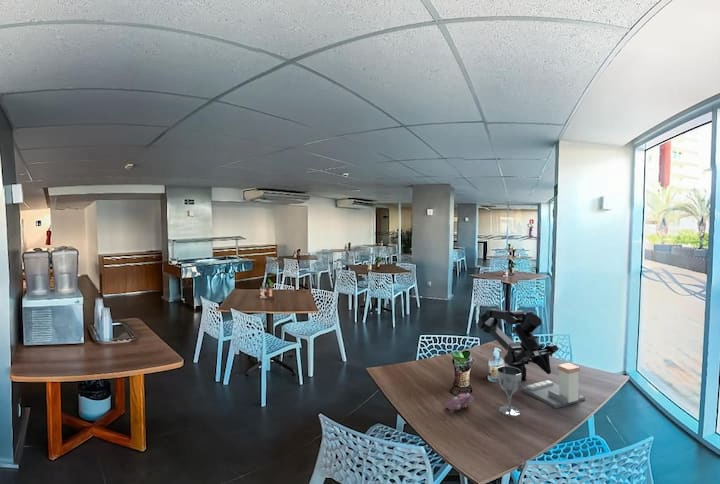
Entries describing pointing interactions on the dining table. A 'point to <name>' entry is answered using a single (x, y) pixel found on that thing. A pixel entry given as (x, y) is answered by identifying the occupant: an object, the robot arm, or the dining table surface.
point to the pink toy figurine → (460, 401)
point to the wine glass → (509, 386)
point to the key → (568, 381)
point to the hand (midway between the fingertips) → (549, 373)
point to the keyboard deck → (549, 393)
